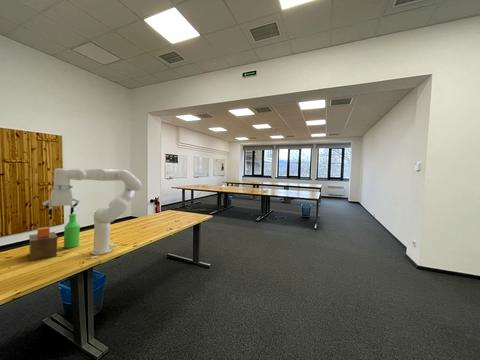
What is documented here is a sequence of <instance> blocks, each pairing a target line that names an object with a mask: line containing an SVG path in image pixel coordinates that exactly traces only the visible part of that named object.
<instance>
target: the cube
mask: <svg viewBox="0 0 480 360" xmlns="http://www.w3.org/2000/svg"><path fill="white" fill-rule="evenodd" d="M50 229H51V228H50V226H43V227H42V226H41V227H37V230H36V231H37V232H36V234H37V236H38V238H40V237H47V236H49V233H50V232H51V231H50Z"/></svg>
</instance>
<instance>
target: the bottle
mask: <svg viewBox="0 0 480 360" xmlns="http://www.w3.org/2000/svg"><path fill="white" fill-rule="evenodd" d="M80 227H81V226H80V224H79V223H78V222H77V214H76V213H72V214H71V213H69V214H68V222H67V223H66V224H65V226H64V227H63V229H64V231H63V247H64V248H65V249H73V248H76V247H78V246H79V245H80Z"/></svg>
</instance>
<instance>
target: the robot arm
mask: <svg viewBox="0 0 480 360" xmlns="http://www.w3.org/2000/svg"><path fill="white" fill-rule="evenodd" d="M53 170H54V171H53V189H52V190H51V193H50V199H47V200H45V201H43V202H42V203H41V204H42V205H43V206H44V208H46V209H47V210H48V215H49V216H50V217H52V216H53V208H54V207H65V206H66V207H67V206H70V213H69V214H75V210H74V209H75V207H77V206H78V204H79V203H80V200H79V199H75V198H73V191H72V189H73V188H74V186H73V185H71V180H73V181H83V180H84V181H85V180H87V181H90V180H91V181H99V182H100V181H103V182H105V181H111V182H112V181H113V182H115V181H117V182H119V181H121V182H123V183H124V190H123V191H122V192H121V193H120V194H119V195H118V196H116V197H115V198H113V199H111V201H110V202H109V203H108V208H106V207H100V208H98V209H96V210H95V211H94V214H93V223H94V227H93V249H91V250H90V254H91V255H94V256H96V255H105V254H108V253H111V251H112V250H113V248H115V247H118V244H117V243H110V241H111V223H113V222H114V221H115V220H116V219H118V218H119V217H120V216H121V215H123V214H124V213H125V212H126V211H127V210H128V208H129V202H130V201H132V200H133V199H134V197H135V194H136V192H137V191H140V190H141V189H142V187H143V184H142V182H141V181H140V180H139V179H138V178H137V177H136V176H135V175H134V174H133V173H132V172H130V171H129V170H126V169H113V168H92V169H89V168H72V169H71V168H60V167H57V168H55V169H53ZM73 202H75V203H73ZM48 203H50V205H48Z"/></svg>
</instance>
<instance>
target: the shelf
mask: <svg viewBox="0 0 480 360" xmlns="http://www.w3.org/2000/svg"><path fill="white" fill-rule="evenodd" d="M28 237H29V251H28V255H29V261H30V262H33V261H39V260H44V259H45V260H46V259H50V258H55V257H57V254H58V253H57V252H58V239H59V236H58V235H57V233H56V232H55V231H50V233H49V236H47V237H40V238H38V236H37V233H36V234H35V233H34V234H29V235H28Z"/></svg>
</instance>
